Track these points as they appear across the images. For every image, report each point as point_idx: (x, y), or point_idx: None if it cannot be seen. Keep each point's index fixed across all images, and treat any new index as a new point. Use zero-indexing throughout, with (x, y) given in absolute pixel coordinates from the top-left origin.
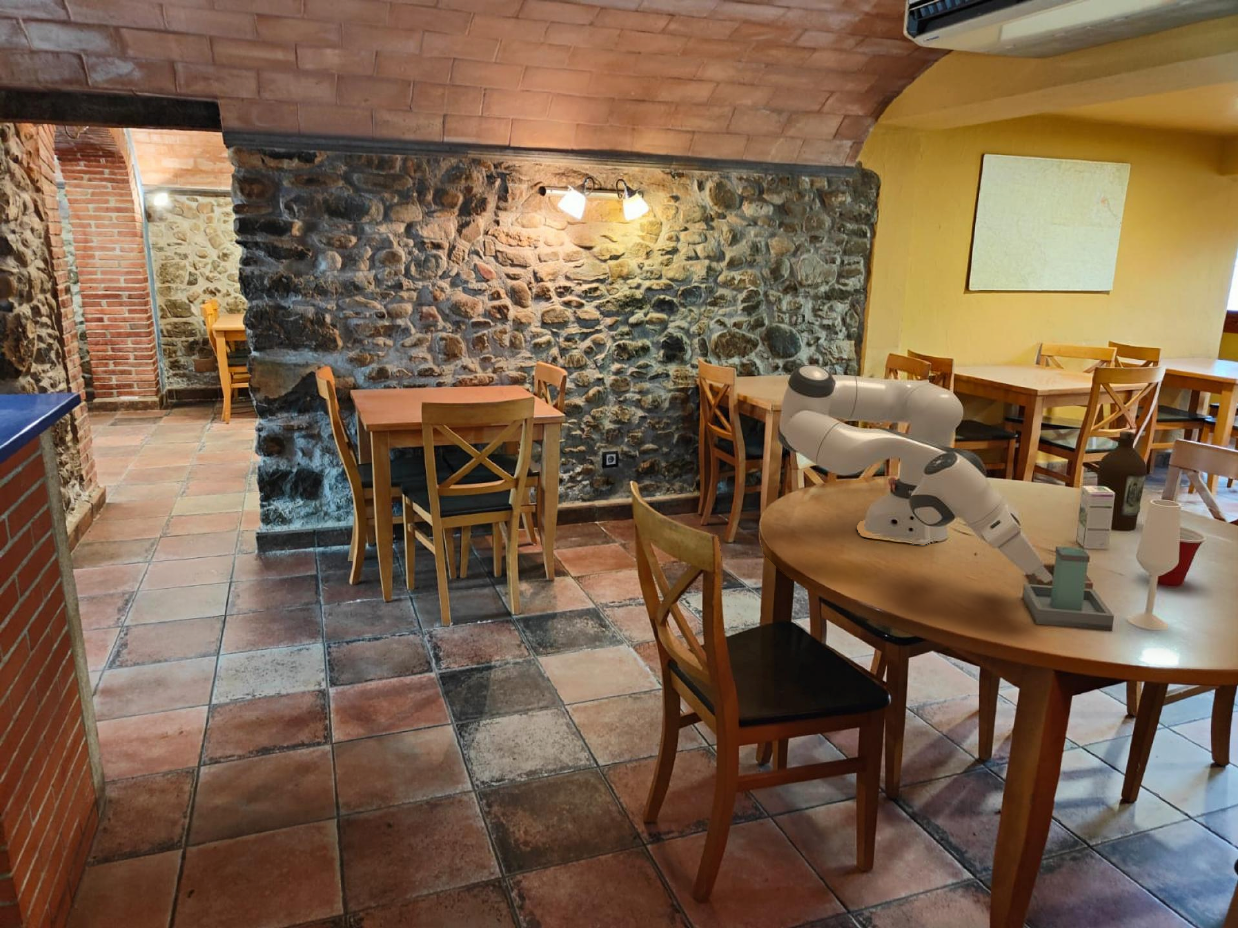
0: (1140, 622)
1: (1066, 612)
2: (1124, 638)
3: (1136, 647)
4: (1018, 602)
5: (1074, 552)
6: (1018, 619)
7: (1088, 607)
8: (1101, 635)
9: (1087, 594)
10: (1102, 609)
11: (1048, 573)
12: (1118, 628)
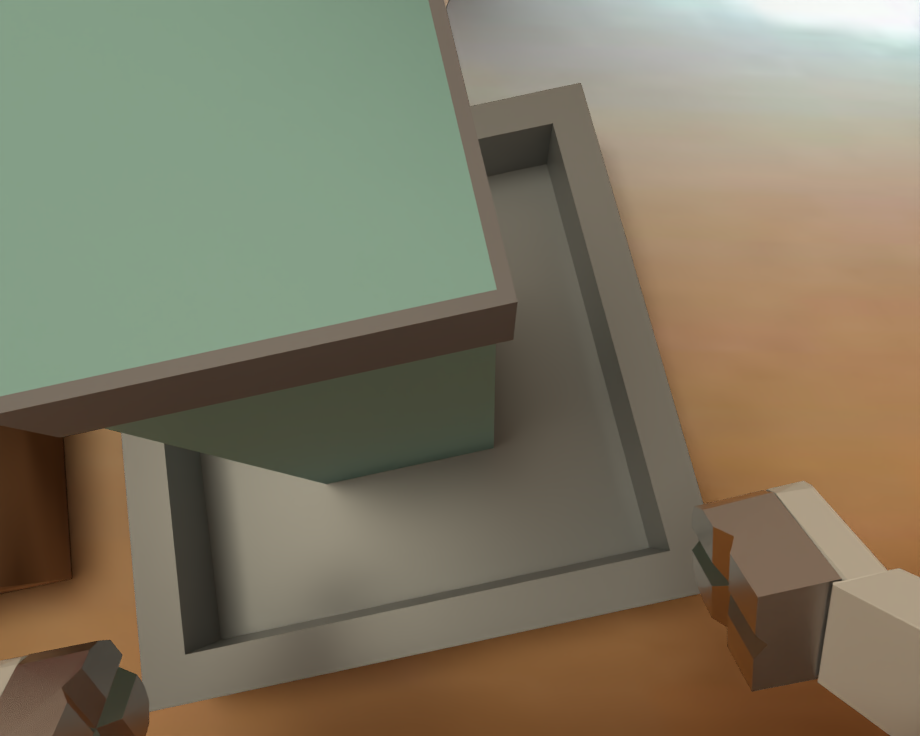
0: None
1: (663, 372)
2: (652, 93)
3: (750, 45)
4: (322, 708)
5: (276, 90)
6: (668, 703)
7: None
8: (672, 199)
9: None
10: None
11: (857, 542)
12: None
